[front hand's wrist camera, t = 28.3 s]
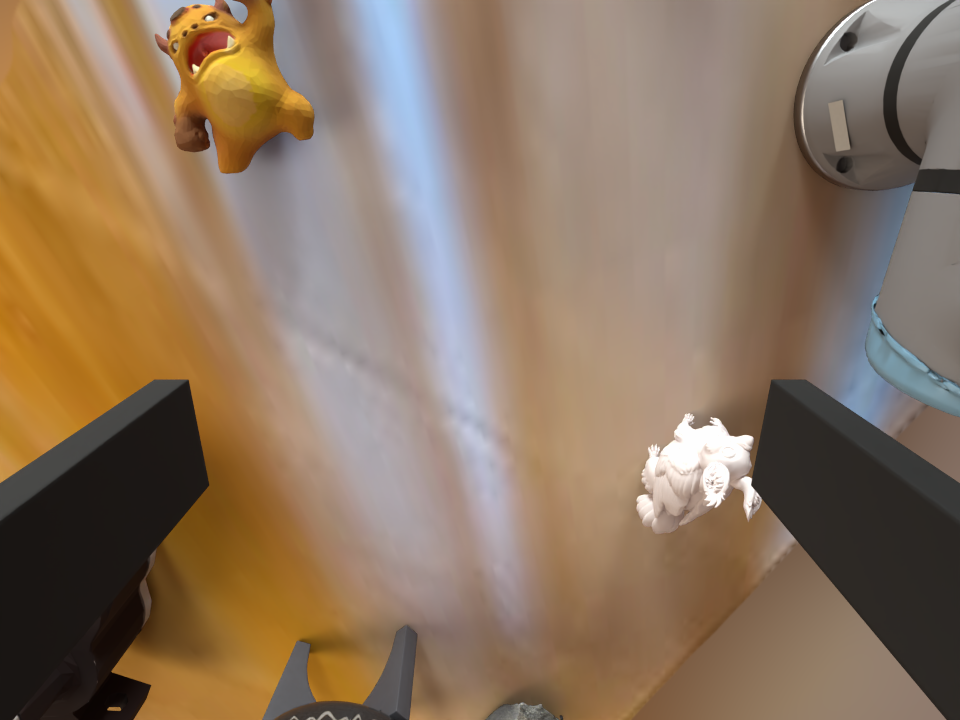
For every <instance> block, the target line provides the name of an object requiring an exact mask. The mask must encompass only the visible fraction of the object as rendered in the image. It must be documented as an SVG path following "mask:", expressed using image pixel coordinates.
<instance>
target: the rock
mask: <svg viewBox="0 0 960 720" xmlns="http://www.w3.org/2000/svg"><path fill="white" fill-rule="evenodd" d="M520 707H521V709H519V708H520ZM560 719H561V720H563V716H562V715H560ZM486 720H559V719H558V718H555V716H554V715H552V714H551V713H549V712H548V711H547V710H546V709H544V708H543V706H542V704H538V705H537V706H531V705H529V706H528V705H527V704H525V703H524V702H522V703H520V704H517V703H516V704H514V705H509V704H504V705H503V706H501V707H499V708H498V709H497V710H496V711H494V712H493V713H492V714H491V715H490V716H489V717H488V718H487V719H486Z"/></svg>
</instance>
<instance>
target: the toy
mask: <svg viewBox="0 0 960 720" xmlns="http://www.w3.org/2000/svg"><path fill="white" fill-rule="evenodd" d="M234 1H238V2H241V3H243V4H244V5H245V6H246V7H247V10H248V16H247V19H246V21H245V22H244V23H243V24H241V23H240V22H238V21H237V20H236V19H235V18H234V17H233V15H232V14H231V11H230V8H229V6H228V4H227V3H226V2H225V1H224V0H215V6H209V5H200V4H196V5H190V6H187V7H181V8H179V9H178V10H177V11H176V12H175V13H174V14H173V15H172V16H171V18H170V21H171V25H170V28H169V30H168V31H167V38H168V41H167V40H165V39H163V38H162V37H160V36H159V35H158V34H155V39H156V42H157V44H158V46H159V48H160V49H161V50H162V51H163V52H165V53H166V54H168V55H169V56H170V57H171V59H172V60H173V61H174V64H175V66H176V68H177V70H178V72H179V75H180V78H181V90H180V92H179V95H178V97H177V99H176V100H175V103H174V107H175V116H174V124H175V126H176V129H175V139H176V143H177V146H178V148H179V149H181V150H184V151H190V152H199V151H203V150H206V149H208V148H209V147H210V141H209V139H208V133H207V131H206V129H205V120H206V119H208V120H209V121H210V123H211V125H212V132H213V138H214V141H215V145H216V149H217V155H218V165H219V169H220V172H221V173H226V174H228V173H239V172H242V171H244V170H245V169H246V168H247V167H248V165H249V164H250V162H251V160H252V158H253V155H254V154H255V153H256V151H257V150H258V149H259V148H260V147H261V146H262V145H263V144H264V143H266V142H267V141H268V140H270V139H271V138H273V137H274V136H276V135H277V134H279V133H281V132H288V133H291V134H293V135H294V137H295V138H297V139H298V140H306V139H310V138H311V137H312V135H313V123H314V110H313V108H312V106H311V104H310V103H309V102H308V101H307V100H306V99H305V98H304V97H303V96H302V95H301V94H299V93H297V92H295V91H293V90H292V89H291V88H290V87H289V86H288V84H287V83H286V81H285V79H284V78H283V76H282V74H281V72H280V70H279V68H278V66H277V63H276V59H275V55H274V49H273V34H274V27H275V21H274V16H273V11H272V7H271V3H272V0H234Z"/></svg>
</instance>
